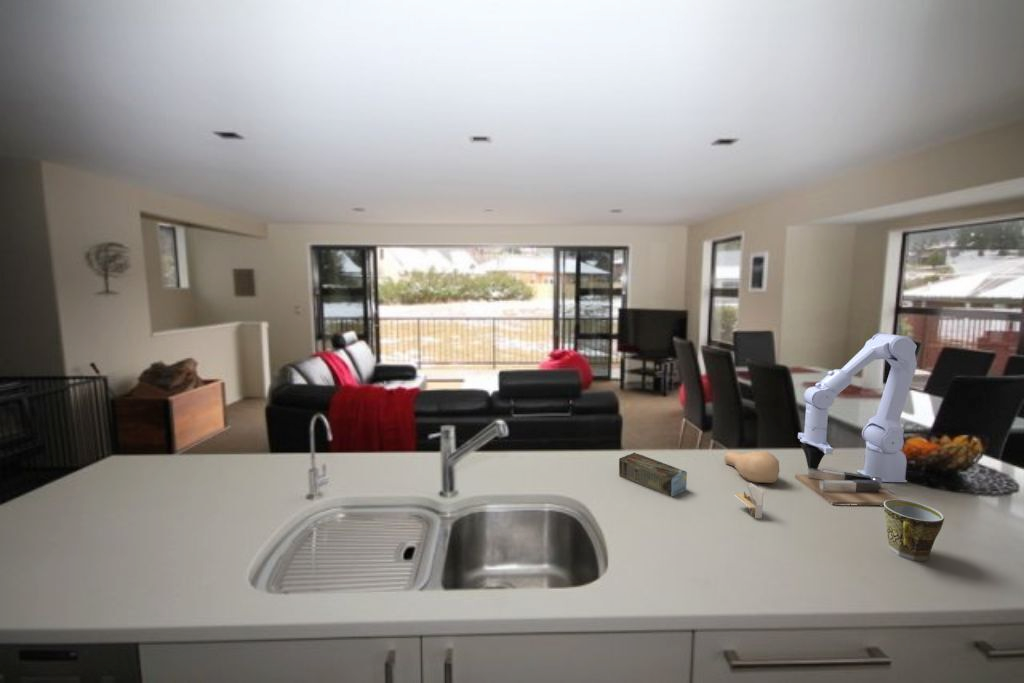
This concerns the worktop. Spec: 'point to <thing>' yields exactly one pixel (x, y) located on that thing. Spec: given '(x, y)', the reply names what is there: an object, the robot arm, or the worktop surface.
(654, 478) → the beverage carton
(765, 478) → the squash
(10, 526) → the worktop surface
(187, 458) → the worktop surface
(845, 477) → the bar
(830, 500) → the board
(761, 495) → the architectural model
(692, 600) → the worktop surface
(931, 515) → the ceramic cup
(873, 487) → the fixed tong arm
